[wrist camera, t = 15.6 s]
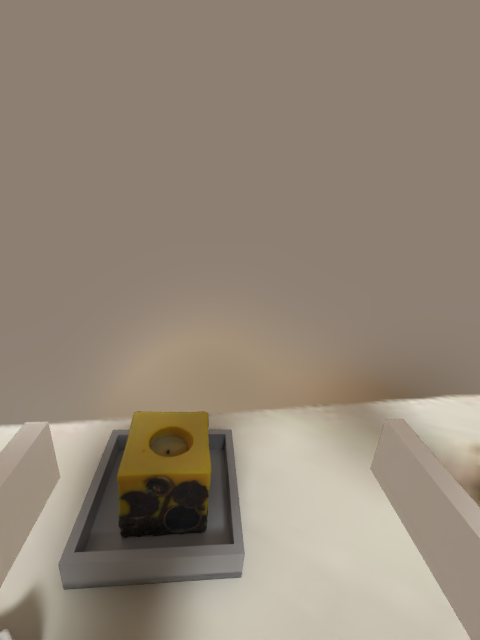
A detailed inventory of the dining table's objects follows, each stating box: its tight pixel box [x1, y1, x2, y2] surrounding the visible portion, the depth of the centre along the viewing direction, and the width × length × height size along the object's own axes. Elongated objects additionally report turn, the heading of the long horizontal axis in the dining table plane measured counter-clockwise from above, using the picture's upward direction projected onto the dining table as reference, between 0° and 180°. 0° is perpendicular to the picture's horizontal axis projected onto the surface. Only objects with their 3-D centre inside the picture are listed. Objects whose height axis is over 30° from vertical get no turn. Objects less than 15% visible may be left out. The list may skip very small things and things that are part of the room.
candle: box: [117, 411, 211, 538], centre depth 37 cm, size 10×10×10 cm
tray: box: [58, 430, 245, 589], centre depth 39 cm, size 18×18×4 cm
